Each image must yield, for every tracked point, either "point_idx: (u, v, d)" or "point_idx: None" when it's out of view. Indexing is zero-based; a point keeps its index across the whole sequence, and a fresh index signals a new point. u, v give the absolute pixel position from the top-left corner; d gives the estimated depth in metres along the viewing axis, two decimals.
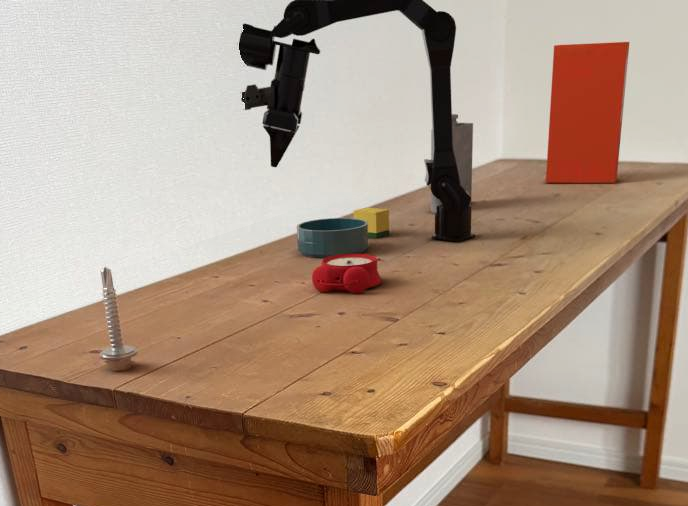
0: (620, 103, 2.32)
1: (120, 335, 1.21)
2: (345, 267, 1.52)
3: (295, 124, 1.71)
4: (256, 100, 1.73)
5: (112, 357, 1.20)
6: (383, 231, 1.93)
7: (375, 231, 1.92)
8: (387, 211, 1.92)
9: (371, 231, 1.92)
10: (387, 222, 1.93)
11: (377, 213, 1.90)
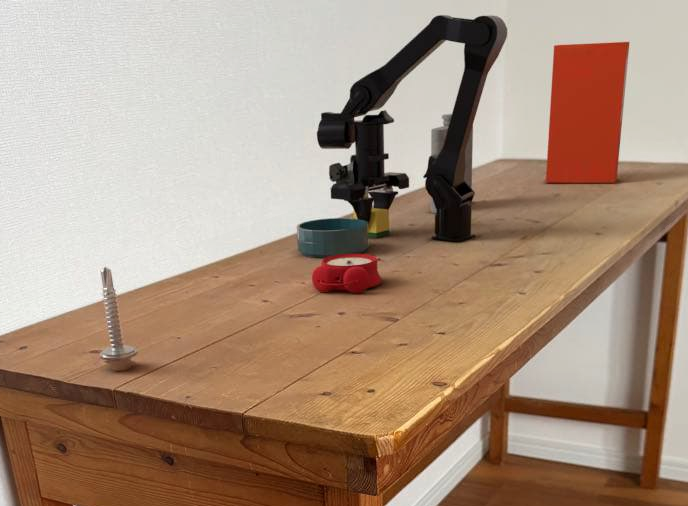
0: (620, 103, 2.32)
1: (120, 335, 1.21)
2: (345, 267, 1.52)
3: (352, 194, 1.83)
4: (337, 177, 1.90)
5: (112, 357, 1.20)
6: (383, 231, 1.93)
7: (375, 231, 1.92)
8: (387, 211, 1.92)
9: (371, 231, 1.92)
10: (387, 222, 1.93)
11: (377, 213, 1.90)
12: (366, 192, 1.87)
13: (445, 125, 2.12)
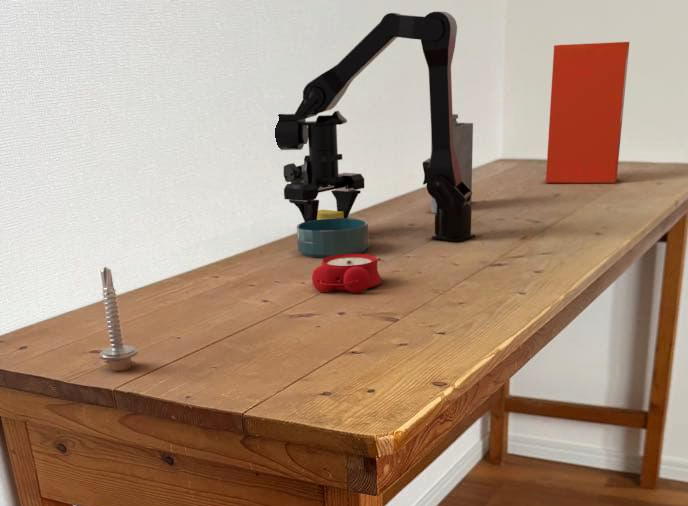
0: (620, 103, 2.32)
1: (120, 335, 1.21)
2: (345, 267, 1.52)
3: (305, 194, 1.83)
4: (291, 177, 1.90)
5: (112, 357, 1.20)
6: None
7: None
8: (341, 213, 1.93)
9: None
10: None
11: (331, 215, 1.90)
12: None
13: None
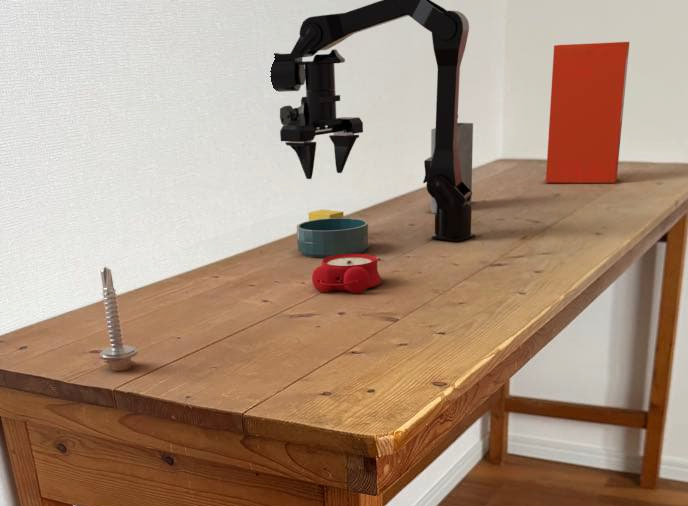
0: (620, 103, 2.32)
1: (120, 335, 1.21)
2: (345, 267, 1.52)
3: (301, 135, 1.78)
4: (288, 120, 1.85)
5: (112, 357, 1.20)
6: None
7: None
8: (341, 213, 1.93)
9: None
10: None
11: (331, 215, 1.90)
12: None
13: None
